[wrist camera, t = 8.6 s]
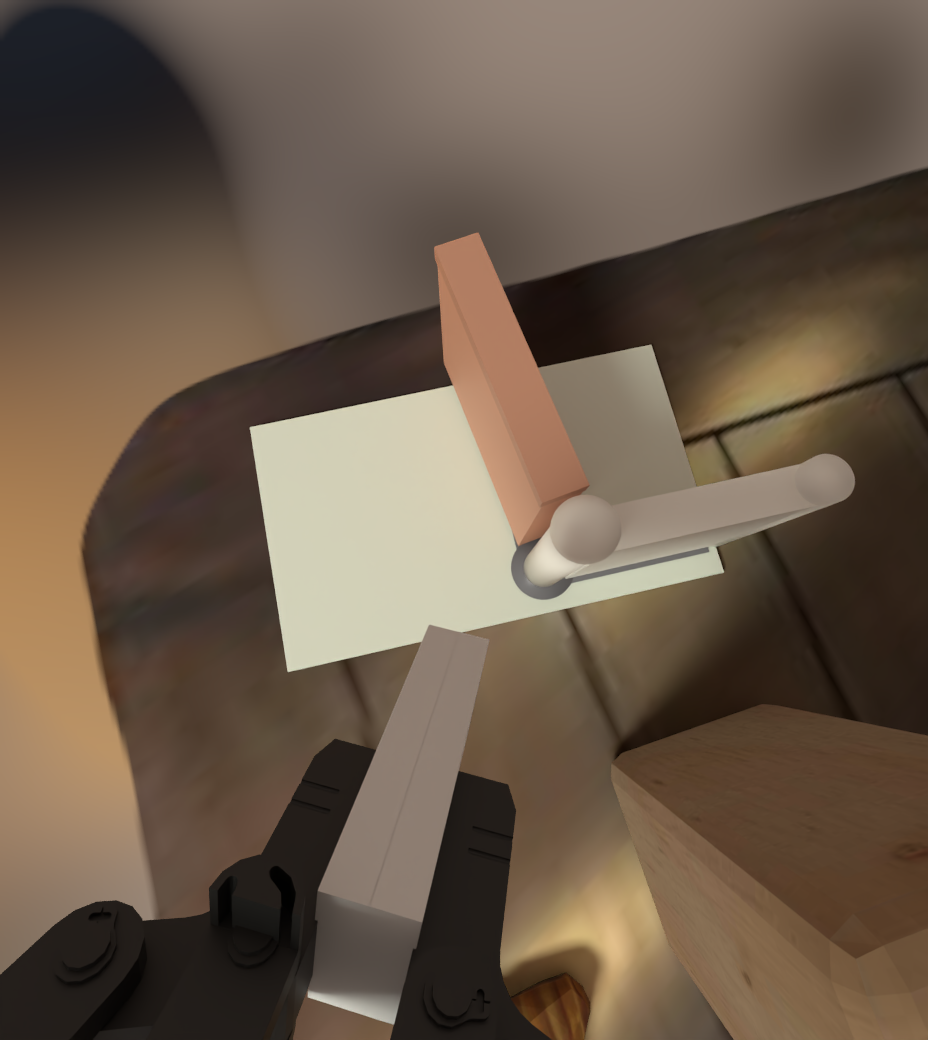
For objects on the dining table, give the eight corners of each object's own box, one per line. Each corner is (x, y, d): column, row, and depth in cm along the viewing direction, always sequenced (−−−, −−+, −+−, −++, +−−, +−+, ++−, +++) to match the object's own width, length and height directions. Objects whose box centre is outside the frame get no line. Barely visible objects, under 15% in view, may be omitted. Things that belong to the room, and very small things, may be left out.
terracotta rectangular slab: (549, 534, 32) (589, 485, 22) (516, 546, 32) (542, 503, 22) (473, 352, 35) (478, 232, 24) (442, 363, 34) (434, 246, 24)
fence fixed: (722, 504, 33) (877, 423, 21) (736, 547, 33) (904, 490, 20) (515, 550, 32) (547, 495, 20) (526, 595, 32) (566, 566, 20)
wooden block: (599, 755, 31) (840, 955, 11) (769, 696, 31) (1277, 786, 12) (669, 956, 29) (1112, 1624, 9) (849, 888, 29) (1616, 1376, 10)
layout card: (649, 347, 36) (651, 343, 35) (720, 573, 33) (725, 572, 32) (252, 429, 34) (249, 426, 34) (290, 671, 32) (287, 672, 31)
